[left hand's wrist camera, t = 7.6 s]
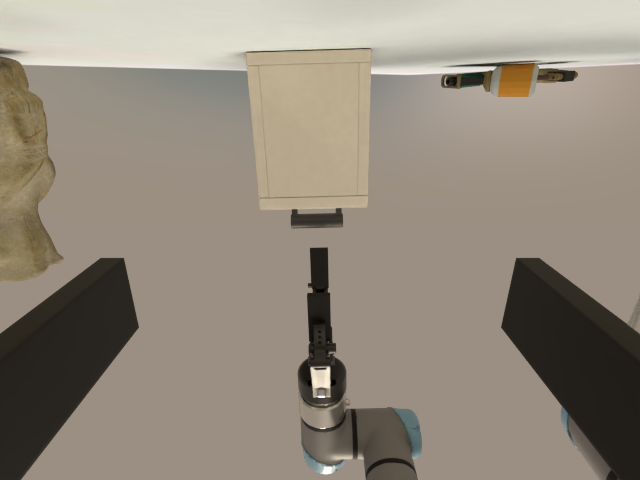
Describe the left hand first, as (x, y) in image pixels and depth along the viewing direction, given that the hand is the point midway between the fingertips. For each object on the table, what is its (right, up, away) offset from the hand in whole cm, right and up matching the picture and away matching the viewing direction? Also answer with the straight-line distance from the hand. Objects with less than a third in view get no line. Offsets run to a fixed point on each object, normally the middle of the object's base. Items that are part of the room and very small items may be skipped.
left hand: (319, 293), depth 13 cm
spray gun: (+29, +28, +43) cm, 59 cm away
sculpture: (-22, +13, +10) cm, 28 cm away
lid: (-1, +9, +27) cm, 28 cm away
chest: (-1, +19, +22) cm, 29 cm away
